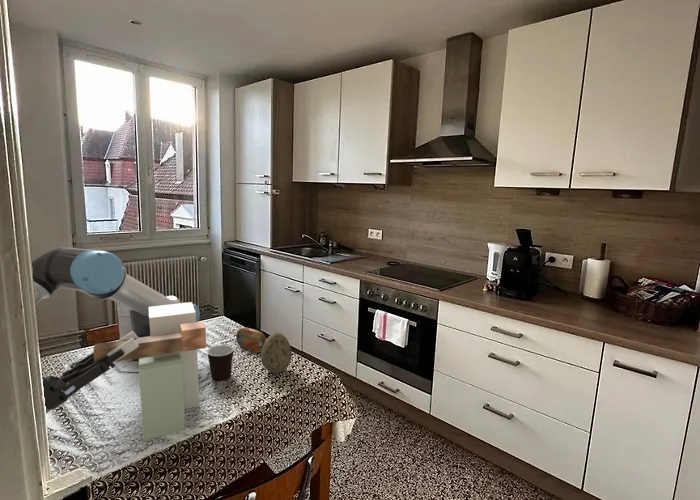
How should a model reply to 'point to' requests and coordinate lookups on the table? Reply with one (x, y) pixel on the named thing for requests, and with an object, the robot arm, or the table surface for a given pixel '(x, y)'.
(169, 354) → the mint green upright block
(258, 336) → the tin
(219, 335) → the table surface
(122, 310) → the cracker box
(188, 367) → the tall white pillar
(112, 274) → the robot arm
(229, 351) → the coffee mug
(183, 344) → the bar
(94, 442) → the table surface
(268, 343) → the decorative egg
